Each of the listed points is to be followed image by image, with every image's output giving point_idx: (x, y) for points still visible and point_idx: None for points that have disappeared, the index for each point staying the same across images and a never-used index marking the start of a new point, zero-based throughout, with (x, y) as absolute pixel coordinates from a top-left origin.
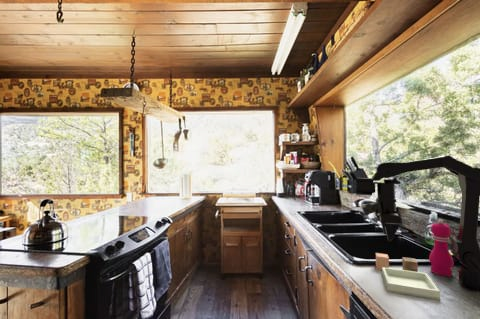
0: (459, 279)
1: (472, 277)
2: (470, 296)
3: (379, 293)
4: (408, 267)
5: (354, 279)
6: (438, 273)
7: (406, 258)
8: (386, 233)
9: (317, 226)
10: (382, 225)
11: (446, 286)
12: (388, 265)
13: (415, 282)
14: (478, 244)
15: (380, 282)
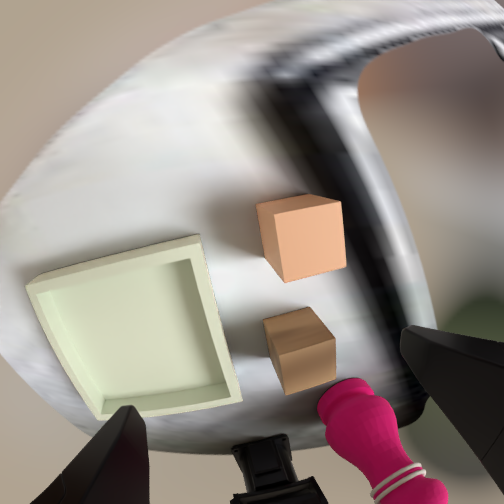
0: (266, 447)
1: (246, 479)
2: (191, 449)
3: (10, 248)
4: (273, 349)
5: (62, 134)
6: (321, 400)
7: (321, 355)
8: (92, 460)
9: None
10: (479, 364)
11: (225, 419)
12: (271, 265)
13: (173, 360)
14: None
15: (95, 239)
